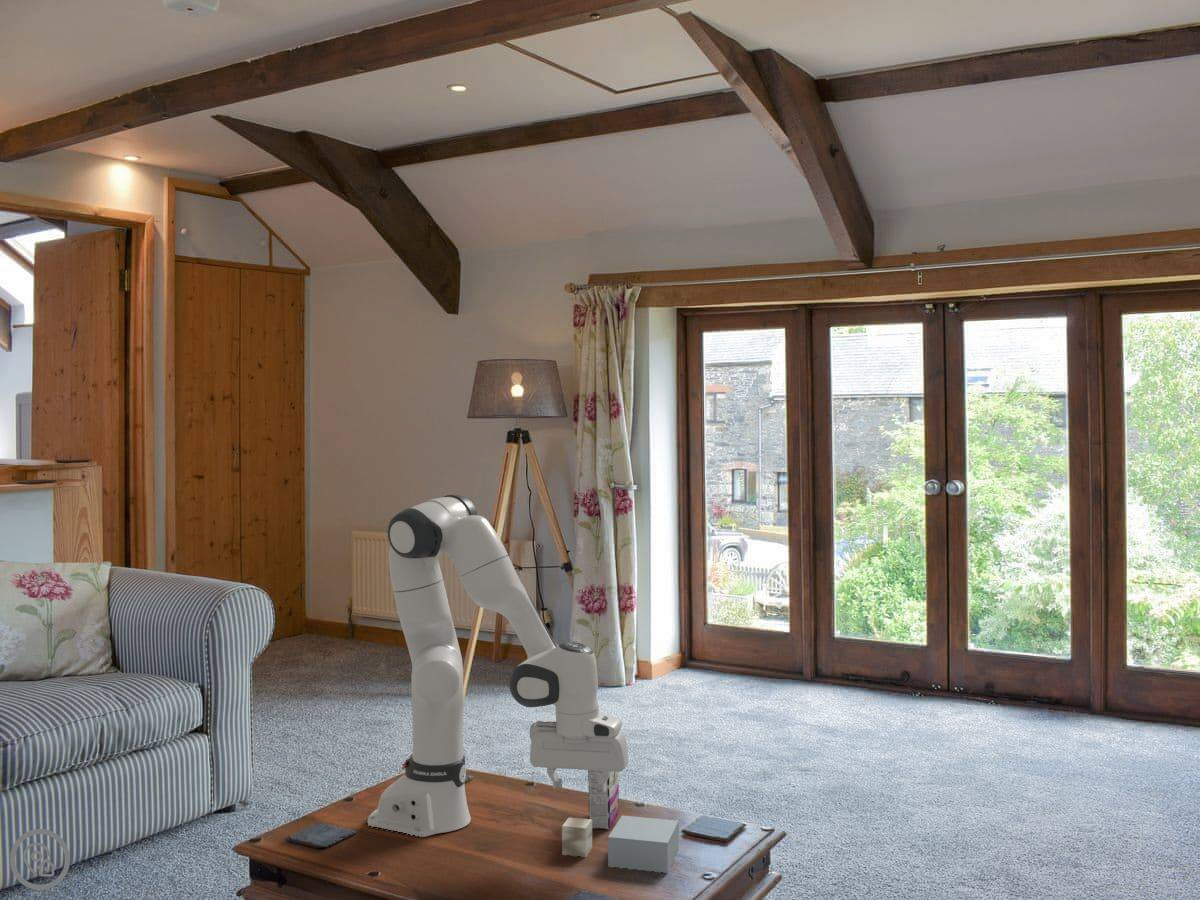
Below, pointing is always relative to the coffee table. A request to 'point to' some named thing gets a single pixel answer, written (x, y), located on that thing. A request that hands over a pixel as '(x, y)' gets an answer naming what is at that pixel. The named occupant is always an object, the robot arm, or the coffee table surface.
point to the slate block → (643, 843)
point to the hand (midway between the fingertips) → (579, 789)
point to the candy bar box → (603, 800)
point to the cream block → (577, 837)
